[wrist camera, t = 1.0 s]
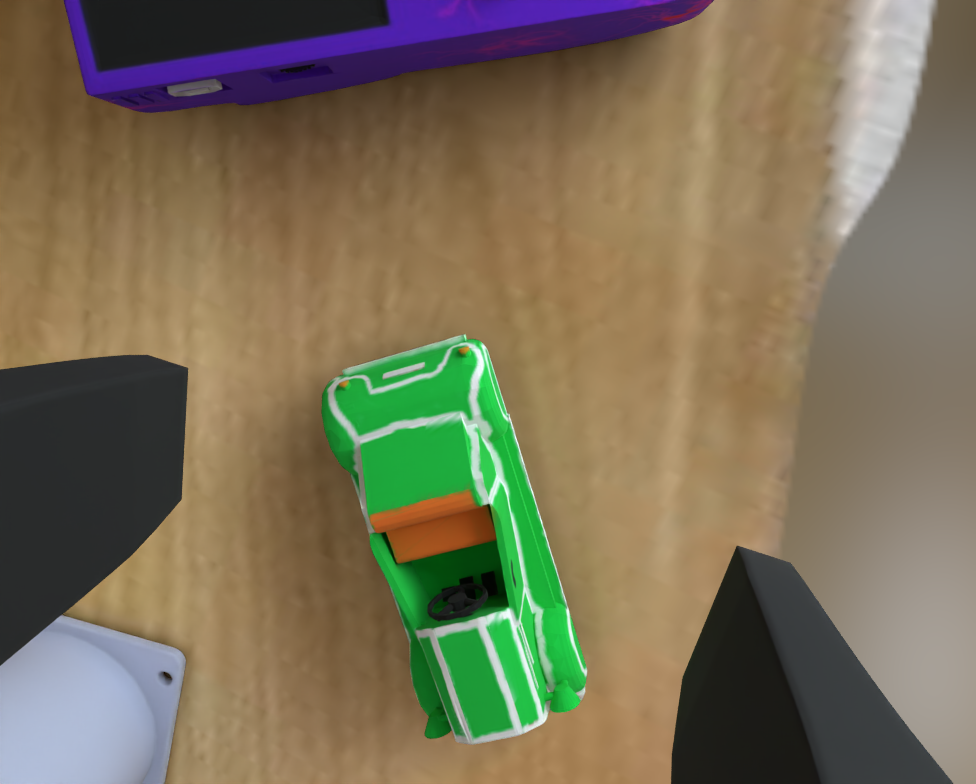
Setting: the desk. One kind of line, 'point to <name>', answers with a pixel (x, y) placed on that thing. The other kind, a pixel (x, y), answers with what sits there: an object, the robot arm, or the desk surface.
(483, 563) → the toy car
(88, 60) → the handheld gaming console
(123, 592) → the desk surface
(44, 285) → the desk surface
